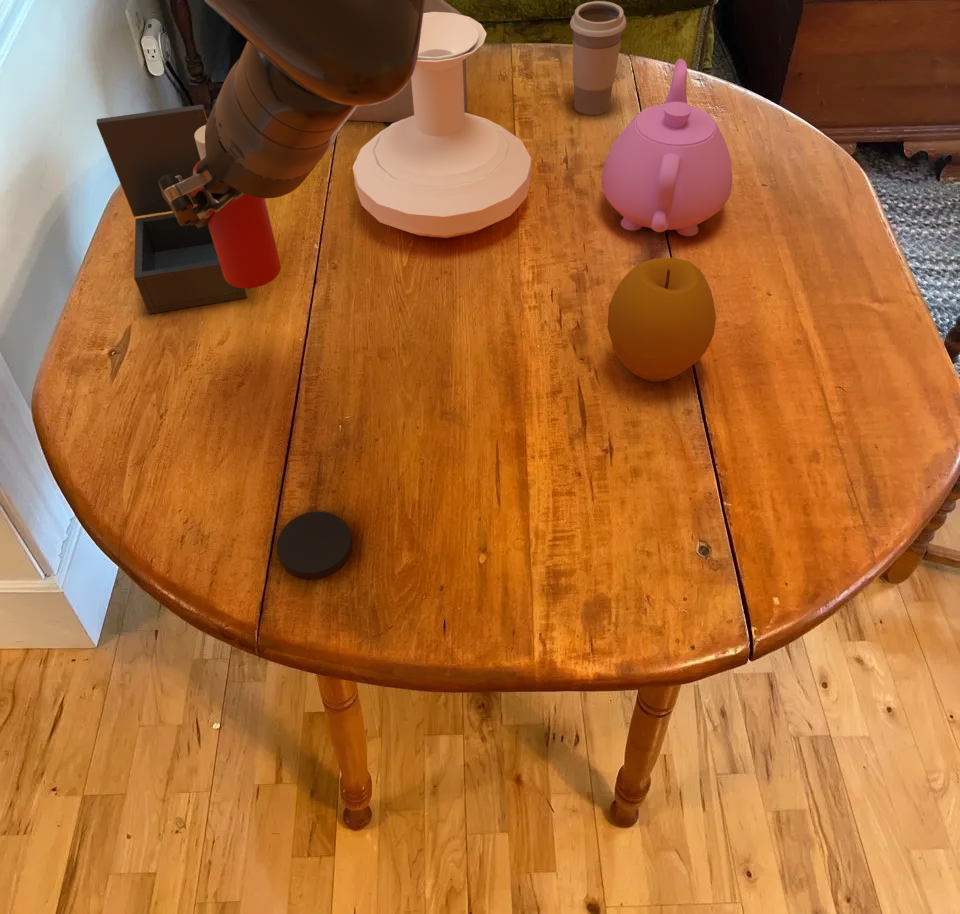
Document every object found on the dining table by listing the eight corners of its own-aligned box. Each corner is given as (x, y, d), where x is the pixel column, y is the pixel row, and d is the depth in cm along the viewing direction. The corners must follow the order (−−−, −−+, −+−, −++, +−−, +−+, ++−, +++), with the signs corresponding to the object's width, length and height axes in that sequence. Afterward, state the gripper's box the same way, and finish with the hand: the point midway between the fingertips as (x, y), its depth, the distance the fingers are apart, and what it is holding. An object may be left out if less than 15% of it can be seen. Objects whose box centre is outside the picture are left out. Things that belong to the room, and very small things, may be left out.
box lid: (203, 108, 85) (202, 104, 85) (96, 123, 83) (96, 118, 84) (230, 202, 93) (230, 197, 94) (133, 217, 92) (133, 212, 92)
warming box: (247, 298, 91) (236, 261, 88) (149, 314, 90) (133, 277, 86) (241, 240, 98) (231, 203, 94) (149, 255, 96) (135, 218, 93)
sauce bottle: (216, 287, 75) (173, 149, 65) (231, 252, 78) (192, 115, 68) (273, 289, 75) (239, 150, 65) (286, 253, 78) (255, 116, 68)
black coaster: (282, 586, 69) (280, 580, 68) (276, 526, 73) (273, 519, 72) (357, 570, 70) (355, 564, 69) (347, 511, 74) (345, 504, 73)
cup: (597, 125, 111) (605, 30, 102) (554, 109, 114) (559, 15, 104) (628, 102, 114) (638, 8, 105) (585, 87, 117) (592, -6, 108)
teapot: (609, 152, 107) (619, 51, 97) (726, 163, 105) (749, 61, 95) (589, 253, 95) (599, 149, 85) (722, 267, 93) (747, 162, 83)
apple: (630, 318, 88) (645, 220, 79) (720, 353, 85) (746, 255, 76) (584, 377, 83) (593, 280, 74) (677, 417, 80) (699, 320, 70)
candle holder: (355, 261, 95) (327, 92, 80) (361, 159, 107) (338, -4, 92) (538, 252, 95) (545, 82, 80) (523, 151, 108) (526, -13, 93)
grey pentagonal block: (475, 94, 116) (471, -64, 101) (467, 126, 112) (461, -35, 96) (356, 89, 118) (334, -68, 103) (343, 120, 113) (318, -40, 98)
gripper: (334, 35, 60) (274, 131, 75) (144, 106, 54) (120, 195, 69) (388, 136, 62) (318, 210, 77) (209, 216, 56) (171, 279, 71)
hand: (224, 202), depth 73 cm, fingers closed on sauce bottle, 5 cm apart
